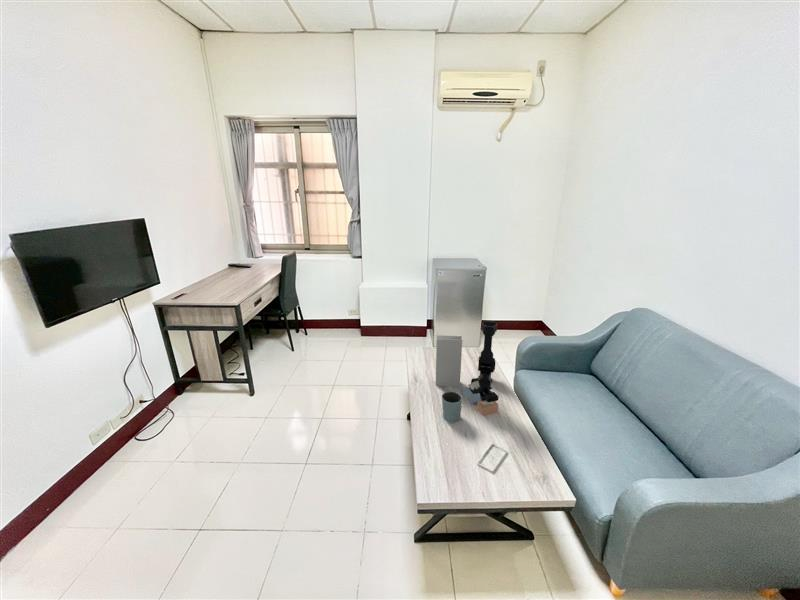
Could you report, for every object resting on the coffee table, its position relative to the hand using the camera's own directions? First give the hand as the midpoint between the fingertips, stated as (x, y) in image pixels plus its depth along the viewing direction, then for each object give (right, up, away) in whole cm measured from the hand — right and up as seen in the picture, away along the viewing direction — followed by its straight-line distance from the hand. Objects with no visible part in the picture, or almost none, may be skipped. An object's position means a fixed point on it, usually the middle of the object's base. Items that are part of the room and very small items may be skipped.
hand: (483, 403), depth 176 cm
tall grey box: (-16, +5, +22) cm, 27 cm away
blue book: (-3, +1, +10) cm, 10 cm away
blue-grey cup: (-18, -5, -7) cm, 20 cm away
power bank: (-4, -14, -33) cm, 36 cm away
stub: (+1, -3, -3) cm, 5 cm away
